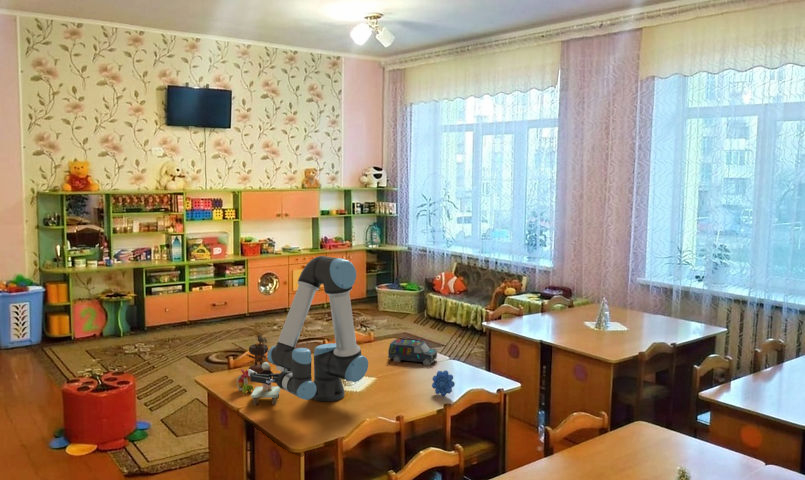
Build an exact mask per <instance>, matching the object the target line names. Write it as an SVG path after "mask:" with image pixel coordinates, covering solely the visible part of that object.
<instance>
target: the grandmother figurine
mask: <svg viewBox="0 0 805 480" xmlns="http://www.w3.org/2000/svg"><path fill="white" fill-rule="evenodd" d="M269 366H270V362H269V361H266V362H264V363H263V364H262V368H263V370H264V371H262V372H261V373H260V374H267V375H270V374H274V372H272V370H271V371H270V370H268V368H269ZM272 378H273V376H272ZM261 384H262V386H263V390H262V391H263V392H267V390H266V389H268V391H272V387H271V386H272V383H271V384H270V385H267V384H263V383H261Z"/></svg>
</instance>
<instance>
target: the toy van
mask: <svg viewBox="0 0 805 480" xmlns="http://www.w3.org/2000/svg"><path fill="white" fill-rule="evenodd" d="M387 351H388V356H387V359H392V360H393V362H397V363H400V362H401V361H408V362H409V361H411V362H420V363H423V365H424V366H430V365H431V364H432V363H433V362H434V361H435V360H436V359H437V358H438V350H437V349H436V348H432V347H431V348H430V347H429V346H428V345H427V344H426V342H425V341H421V340H420V341H419V340H411V339H399V338H397V339H394V340H392V341H391V342H390V343H389V347H388V350H387Z"/></svg>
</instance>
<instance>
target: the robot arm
mask: <svg viewBox="0 0 805 480" xmlns="http://www.w3.org/2000/svg"><path fill="white" fill-rule="evenodd" d="M356 280H357V270H356V267H355V266H354V264H353V262H351V261H350V260H348V259H345V258H340V257H330V256H325V255H319V256H316V257H314V258H312V259H310V261H309V262H307V264H306V265H305V266H304V267H303V268H302V271H301V272H300V276H299V277H298V279H297V285H298V286H297V289H296V292H295V295H294V296H293V300H292V302H291V305H290V307H289V310H288V313H287V315H286V318H285V321H284V322H283V323H284V324H283V327H282V329H281V332H280V335H279V336H278V340H277V343H276V345H273V346H271V347H270V348H269V349H268V352H267V353H266V358H267V360H268V361H267V362H268V363H269V364H272V365H274V366H275V369H276V370H277V371H279V373H273V374H270V375H267V374H257V373H256V372H254V371H252V370H250V369H249V368H248V369H247V370H248V376H250V377H249V378H250V382H251V383H258V384H262V383H263V384H267V385H270V384H271V385H272V383H273V384H276V385H277V386H279V387H280V388H281V389H282V390H283V391H286V392H288V393H290V394H292V395H294V396H296V397H297V399H301V400H304V401H308V400H309V401H310V400H311V399H312V400H315V401H318V402H334V401H339V400H341V399H343V398H344V397H345V391H346V390H345V387H344V384H343V381H342V380H345V381H347V382H351V383H357V382H359V381H361V380H362V379H363V378H364V377H365V375H366V373H367V372H368V368H369V360H368V358H367V357H366V356H365V355H362V350H361V346H360V345H358V344H357V340H356V339H357V338H356V331H355V325H354V317H353V309H352V308H353V307H352V302H351V296H350V292H351V291H352V290H353V286H354V284H355V283H356ZM321 285H323V290H324V293H325V294H326V295H328V298H329V304H330V305H329V306H330V312H331V313H330V314H331V319H332V328H333V333H334V341H335V342H333V343H323V344H320V345H317V346H315V348H314V351H313V359H312V352H311V350H310V349H309V348H307V347H297V346H296V345H297V342H298V339H299V338H300V335H301V332H302V330H303V327H304V323H305V322H306V318H307V316H308V313H309V311H310V308H311V305H312V303H313V299H314V297H315V294H316V292H317V291H319V290H320V288H321ZM296 347H297V348H296ZM312 360H313V376H314V377H313V381H312ZM272 376H273V377H272Z"/></svg>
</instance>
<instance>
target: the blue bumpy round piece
mask: <svg viewBox="0 0 805 480" xmlns="http://www.w3.org/2000/svg"><path fill="white" fill-rule="evenodd" d="M453 379H454V375H453V374H449V371H448V370H443V371H442V370H438V371H437V372H436V374H435V375H433V377H432V384H431V388H433V390H434V389H435V390H434V393H435V394H437V395H440V396H441V397H445V396H446V395H447V394H451V393H452V392H453V388H454V387H455V384H456V383H455V382H454V380H453Z"/></svg>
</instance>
